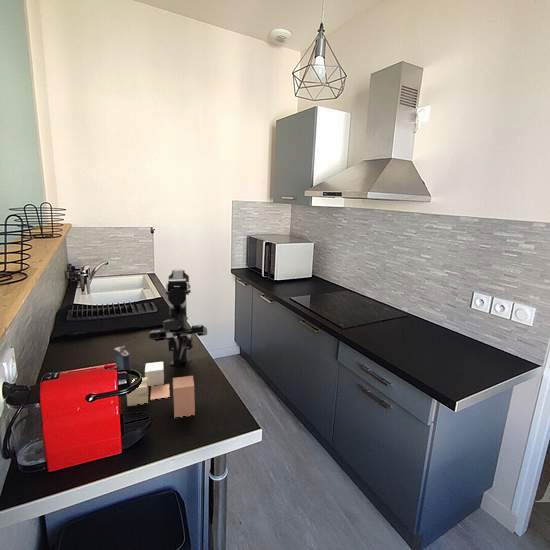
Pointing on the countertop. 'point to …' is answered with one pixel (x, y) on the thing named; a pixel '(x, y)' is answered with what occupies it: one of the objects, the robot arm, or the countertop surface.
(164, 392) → the colour card
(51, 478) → the countertop surface
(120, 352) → the flask
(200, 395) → the countertop surface
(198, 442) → the countertop surface
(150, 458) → the countertop surface
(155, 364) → the white block
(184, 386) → the terracotta block
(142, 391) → the birch block
